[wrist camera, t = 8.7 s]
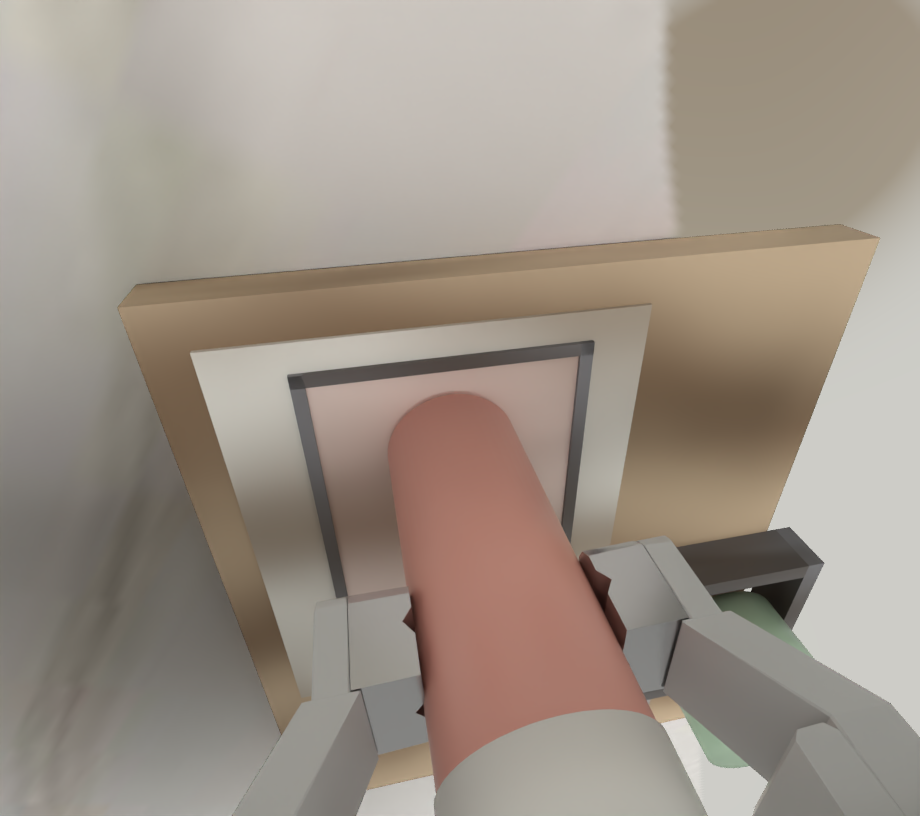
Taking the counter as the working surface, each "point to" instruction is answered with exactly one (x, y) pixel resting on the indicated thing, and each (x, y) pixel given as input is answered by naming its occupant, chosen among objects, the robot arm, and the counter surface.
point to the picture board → (514, 391)
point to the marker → (516, 636)
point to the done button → (770, 621)
